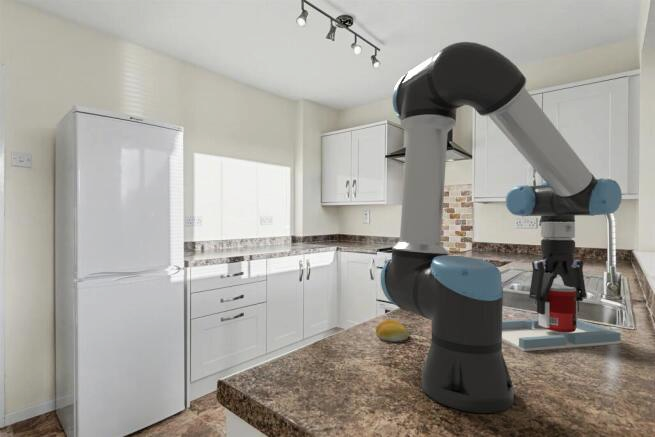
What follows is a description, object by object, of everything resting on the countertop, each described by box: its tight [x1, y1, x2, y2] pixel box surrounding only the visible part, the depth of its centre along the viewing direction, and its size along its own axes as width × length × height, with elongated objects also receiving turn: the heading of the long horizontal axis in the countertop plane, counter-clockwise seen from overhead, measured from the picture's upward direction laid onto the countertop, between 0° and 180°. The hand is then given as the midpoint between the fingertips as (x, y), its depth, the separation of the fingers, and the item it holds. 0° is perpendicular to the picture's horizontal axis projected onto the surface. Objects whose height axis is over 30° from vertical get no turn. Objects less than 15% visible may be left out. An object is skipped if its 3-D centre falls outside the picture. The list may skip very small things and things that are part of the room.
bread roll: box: [375, 319, 409, 343], centre depth 91 cm, size 8×9×4 cm
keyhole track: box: [502, 317, 622, 352], centre depth 91 cm, size 28×15×3 cm, turn 101°
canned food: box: [541, 283, 576, 332], centre depth 92 cm, size 8×8×11 cm
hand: (557, 325), depth 92 cm, fingers closed on canned food, 8 cm apart
